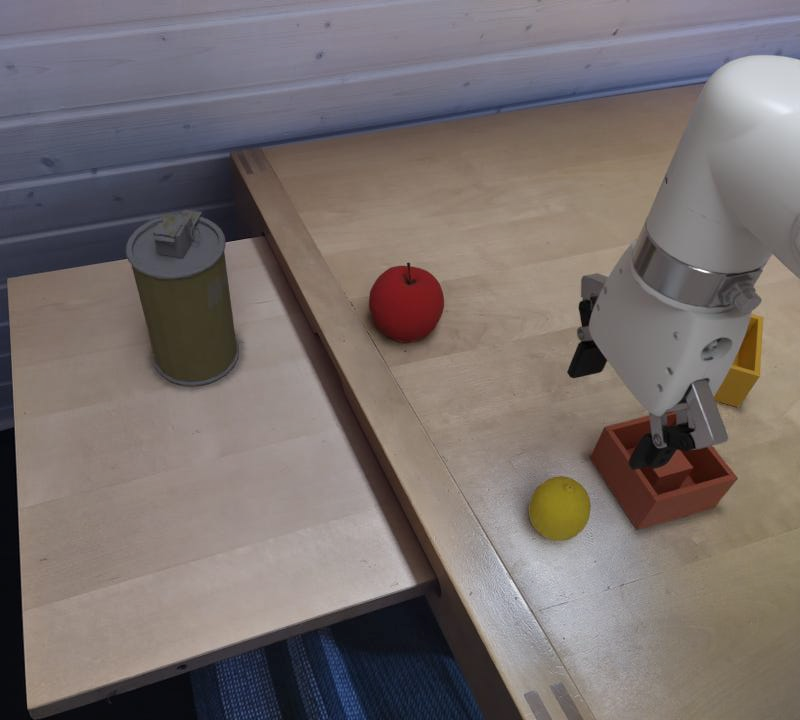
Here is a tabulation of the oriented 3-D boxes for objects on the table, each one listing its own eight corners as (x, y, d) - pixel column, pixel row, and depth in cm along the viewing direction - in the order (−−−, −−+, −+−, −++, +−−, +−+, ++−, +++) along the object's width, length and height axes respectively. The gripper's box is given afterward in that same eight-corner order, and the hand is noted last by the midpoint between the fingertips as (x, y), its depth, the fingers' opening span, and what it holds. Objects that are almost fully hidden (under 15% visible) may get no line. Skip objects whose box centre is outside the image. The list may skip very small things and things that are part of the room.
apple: (355, 338, 90) (358, 279, 82) (383, 295, 95) (388, 235, 88) (424, 362, 87) (434, 303, 79) (449, 316, 92) (460, 256, 85)
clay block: (678, 488, 74) (693, 467, 71) (645, 498, 74) (659, 477, 71) (656, 458, 77) (669, 436, 74) (623, 467, 76) (636, 445, 73)
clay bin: (714, 507, 73) (738, 478, 69) (636, 530, 72) (656, 501, 68) (662, 437, 79) (681, 406, 75) (589, 457, 78) (604, 426, 73)
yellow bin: (737, 407, 82) (760, 376, 78) (646, 379, 85) (663, 348, 81) (742, 349, 88) (763, 316, 84) (657, 324, 91) (673, 292, 87)
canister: (223, 393, 84) (202, 263, 69) (140, 378, 85) (103, 247, 70) (250, 329, 91) (237, 198, 76) (173, 316, 92) (145, 185, 77)
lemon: (520, 547, 70) (538, 506, 64) (523, 500, 74) (540, 456, 68) (577, 560, 70) (601, 519, 64) (577, 511, 73) (600, 468, 67)
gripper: (840, 339, 42) (717, 492, 54) (668, 175, 53) (599, 334, 65) (730, 365, 40) (630, 516, 53) (577, 191, 51) (525, 350, 64)
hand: (613, 415), depth 59 cm, fingers open, 9 cm apart
